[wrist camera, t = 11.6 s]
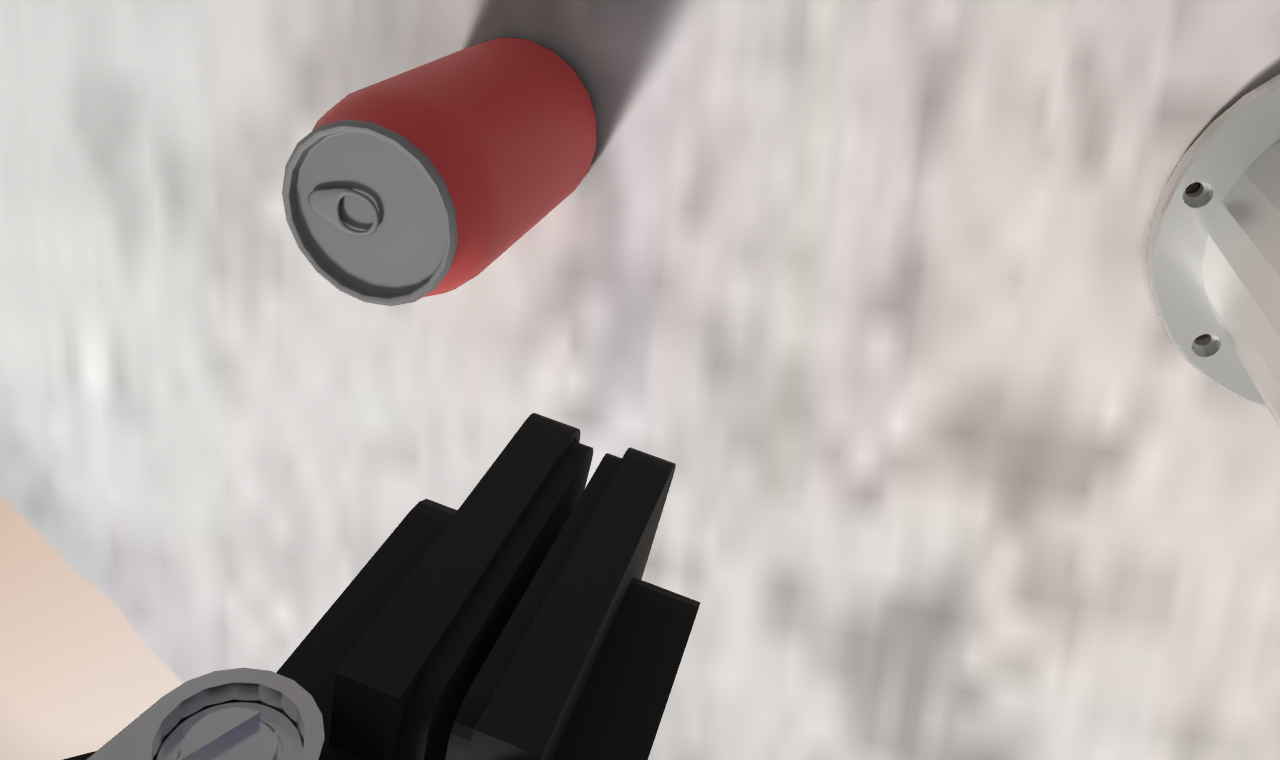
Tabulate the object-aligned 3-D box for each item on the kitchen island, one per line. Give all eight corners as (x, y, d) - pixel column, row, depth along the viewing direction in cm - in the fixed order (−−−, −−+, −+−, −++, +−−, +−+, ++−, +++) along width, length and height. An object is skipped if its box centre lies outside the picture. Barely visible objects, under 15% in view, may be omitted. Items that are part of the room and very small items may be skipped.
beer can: (453, 15, 36) (261, 76, 26) (615, 57, 35) (480, 136, 25) (441, 179, 40) (267, 288, 30) (589, 221, 39) (461, 348, 29)
